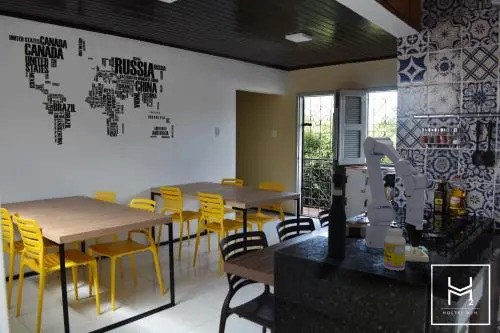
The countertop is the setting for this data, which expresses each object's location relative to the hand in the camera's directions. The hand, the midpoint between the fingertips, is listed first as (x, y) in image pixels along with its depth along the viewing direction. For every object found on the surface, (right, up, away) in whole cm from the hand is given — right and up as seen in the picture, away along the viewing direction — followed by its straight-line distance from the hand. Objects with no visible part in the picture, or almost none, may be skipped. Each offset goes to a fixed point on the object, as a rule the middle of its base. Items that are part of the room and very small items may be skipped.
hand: (413, 245), depth 140 cm
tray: (0, -5, 0) cm, 5 cm away
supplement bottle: (-11, -5, -11) cm, 17 cm away
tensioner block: (+3, -4, +8) cm, 9 cm away
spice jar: (0, -3, 0) cm, 3 cm away
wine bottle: (-27, -5, +4) cm, 27 cm away
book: (-7, -3, +40) cm, 41 cm away
